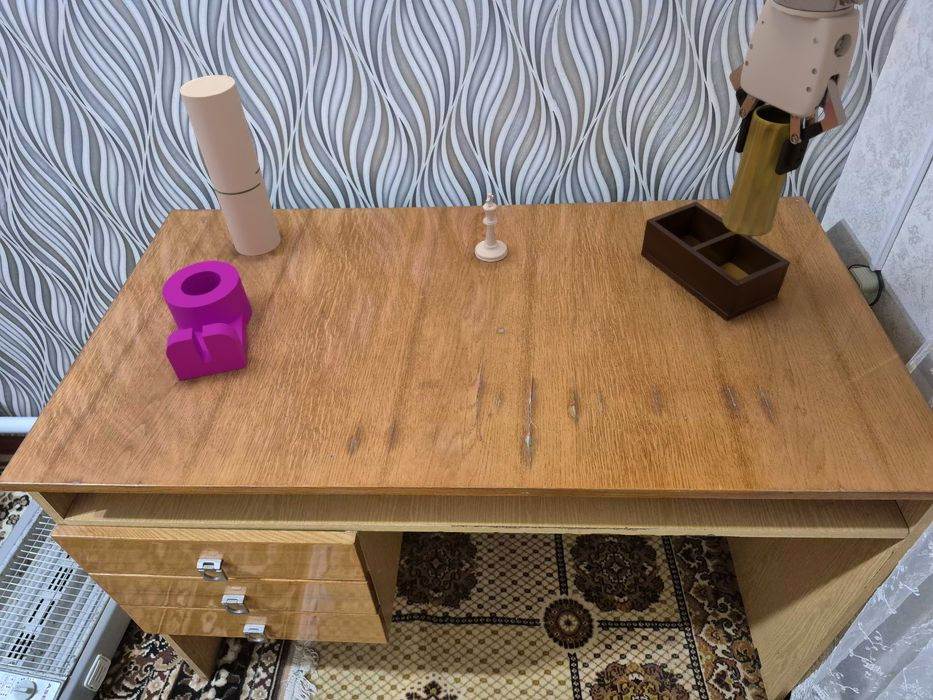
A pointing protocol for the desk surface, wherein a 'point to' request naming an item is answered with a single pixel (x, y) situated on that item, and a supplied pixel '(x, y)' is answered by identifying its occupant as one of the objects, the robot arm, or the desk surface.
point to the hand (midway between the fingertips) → (766, 158)
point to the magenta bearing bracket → (207, 319)
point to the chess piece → (490, 236)
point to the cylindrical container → (231, 162)
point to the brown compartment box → (713, 260)
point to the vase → (758, 174)
